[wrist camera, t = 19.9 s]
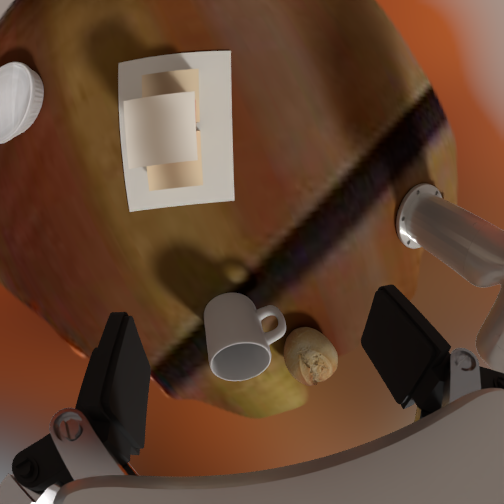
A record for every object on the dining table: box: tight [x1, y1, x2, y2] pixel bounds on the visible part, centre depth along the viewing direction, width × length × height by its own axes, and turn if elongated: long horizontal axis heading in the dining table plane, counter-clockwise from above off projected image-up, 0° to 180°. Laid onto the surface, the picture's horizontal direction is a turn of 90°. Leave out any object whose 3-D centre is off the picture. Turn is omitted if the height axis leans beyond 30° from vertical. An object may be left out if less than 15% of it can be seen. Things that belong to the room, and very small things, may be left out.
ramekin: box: [0, 62, 44, 144], centre depth 20 cm, size 11×11×5 cm
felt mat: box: [118, 51, 234, 212], centre depth 30 cm, size 14×20×1 cm
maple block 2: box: [146, 130, 203, 191], centre depth 29 cm, size 6×6×5 cm
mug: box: [204, 293, 286, 381], centre depth 39 cm, size 12×8×11 cm
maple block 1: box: [142, 69, 200, 123], centre depth 26 cm, size 6×6×5 cm
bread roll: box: [284, 327, 338, 386], centre depth 48 cm, size 10×15×8 cm, turn 32°
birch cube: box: [124, 91, 198, 169], centre depth 19 cm, size 5×5×5 cm
